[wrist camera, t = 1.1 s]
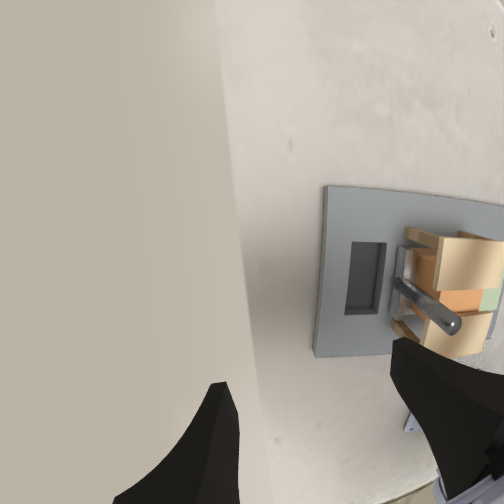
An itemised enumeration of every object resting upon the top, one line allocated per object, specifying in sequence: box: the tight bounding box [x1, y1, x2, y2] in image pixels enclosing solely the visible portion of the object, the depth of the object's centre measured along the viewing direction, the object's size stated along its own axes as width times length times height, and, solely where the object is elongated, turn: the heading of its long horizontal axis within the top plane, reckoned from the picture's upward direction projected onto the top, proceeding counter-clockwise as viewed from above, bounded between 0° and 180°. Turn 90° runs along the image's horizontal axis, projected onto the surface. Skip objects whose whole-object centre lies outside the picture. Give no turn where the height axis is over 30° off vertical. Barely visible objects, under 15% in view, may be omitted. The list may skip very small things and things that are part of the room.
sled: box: [389, 246, 462, 336], centre depth 17 cm, size 8×6×9 cm
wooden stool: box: [391, 227, 504, 359], centre depth 19 cm, size 6×9×6 cm
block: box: [410, 255, 484, 322], centre depth 19 cm, size 4×4×4 cm
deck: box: [313, 186, 504, 358], centre depth 22 cm, size 20×14×2 cm
